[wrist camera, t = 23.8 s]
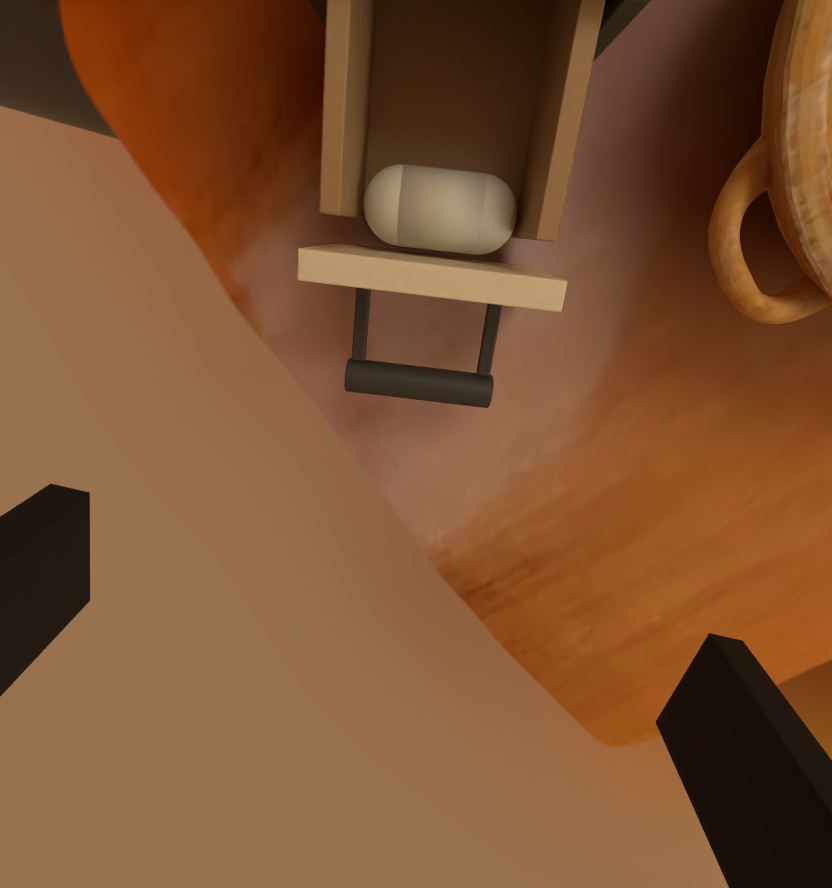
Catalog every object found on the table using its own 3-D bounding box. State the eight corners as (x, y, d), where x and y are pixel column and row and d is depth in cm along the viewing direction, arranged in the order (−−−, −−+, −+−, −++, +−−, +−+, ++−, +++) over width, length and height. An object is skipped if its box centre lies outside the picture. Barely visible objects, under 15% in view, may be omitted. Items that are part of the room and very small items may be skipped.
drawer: (510, 386, 29) (534, 437, 22) (328, 364, 29) (294, 408, 22) (584, -4, 23) (654, -113, 15) (348, -35, 22) (307, -159, 15)
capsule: (370, 155, 24) (367, 232, 26) (359, 165, 21) (357, 251, 23) (520, 171, 24) (506, 247, 26) (529, 184, 21) (513, 267, 23)
